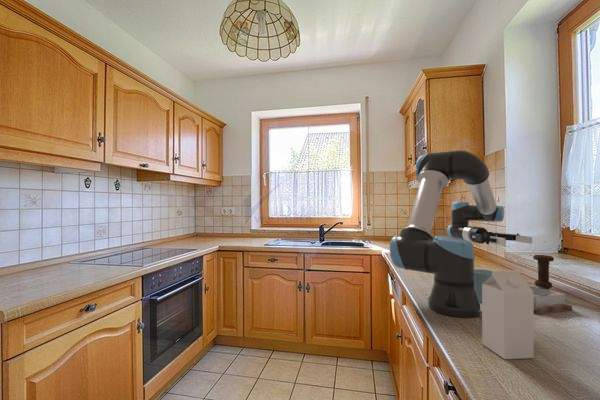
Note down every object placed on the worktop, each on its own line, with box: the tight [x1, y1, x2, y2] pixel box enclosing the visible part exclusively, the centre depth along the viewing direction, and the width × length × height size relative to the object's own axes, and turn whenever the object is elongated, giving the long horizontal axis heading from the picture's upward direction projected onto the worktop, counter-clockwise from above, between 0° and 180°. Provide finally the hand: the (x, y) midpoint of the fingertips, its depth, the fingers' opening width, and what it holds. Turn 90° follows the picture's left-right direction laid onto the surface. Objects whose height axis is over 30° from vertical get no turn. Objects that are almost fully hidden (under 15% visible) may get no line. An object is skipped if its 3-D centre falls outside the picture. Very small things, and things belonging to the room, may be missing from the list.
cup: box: [474, 268, 493, 304], centre depth 104 cm, size 8×8×10 cm
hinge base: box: [527, 283, 573, 315], centre depth 100 cm, size 15×14×5 cm
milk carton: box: [481, 269, 535, 360], centre depth 69 cm, size 7×7×19 cm
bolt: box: [533, 254, 555, 290], centre depth 109 cm, size 6×5×15 cm
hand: (518, 241), depth 119 cm, fingers open, 13 cm apart
